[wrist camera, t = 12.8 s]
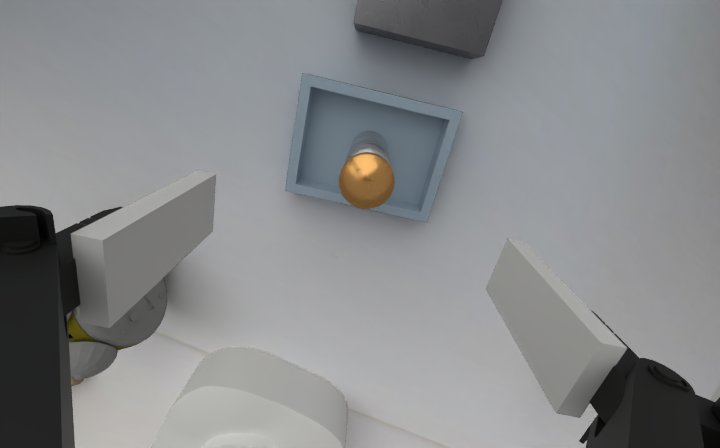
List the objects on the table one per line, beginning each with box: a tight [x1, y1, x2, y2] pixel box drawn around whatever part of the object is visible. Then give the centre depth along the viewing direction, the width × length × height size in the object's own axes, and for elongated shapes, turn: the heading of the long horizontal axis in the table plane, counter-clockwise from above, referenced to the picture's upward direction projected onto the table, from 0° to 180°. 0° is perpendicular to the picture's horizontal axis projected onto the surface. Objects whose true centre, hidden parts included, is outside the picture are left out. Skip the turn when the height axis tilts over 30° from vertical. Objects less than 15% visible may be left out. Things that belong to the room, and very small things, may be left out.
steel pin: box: [339, 131, 395, 209], centre depth 31 cm, size 4×4×14 cm
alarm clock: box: [67, 278, 167, 380], centre depth 37 cm, size 12×7×15 cm, turn 19°
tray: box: [285, 73, 463, 223], centre depth 36 cm, size 16×12×3 cm
